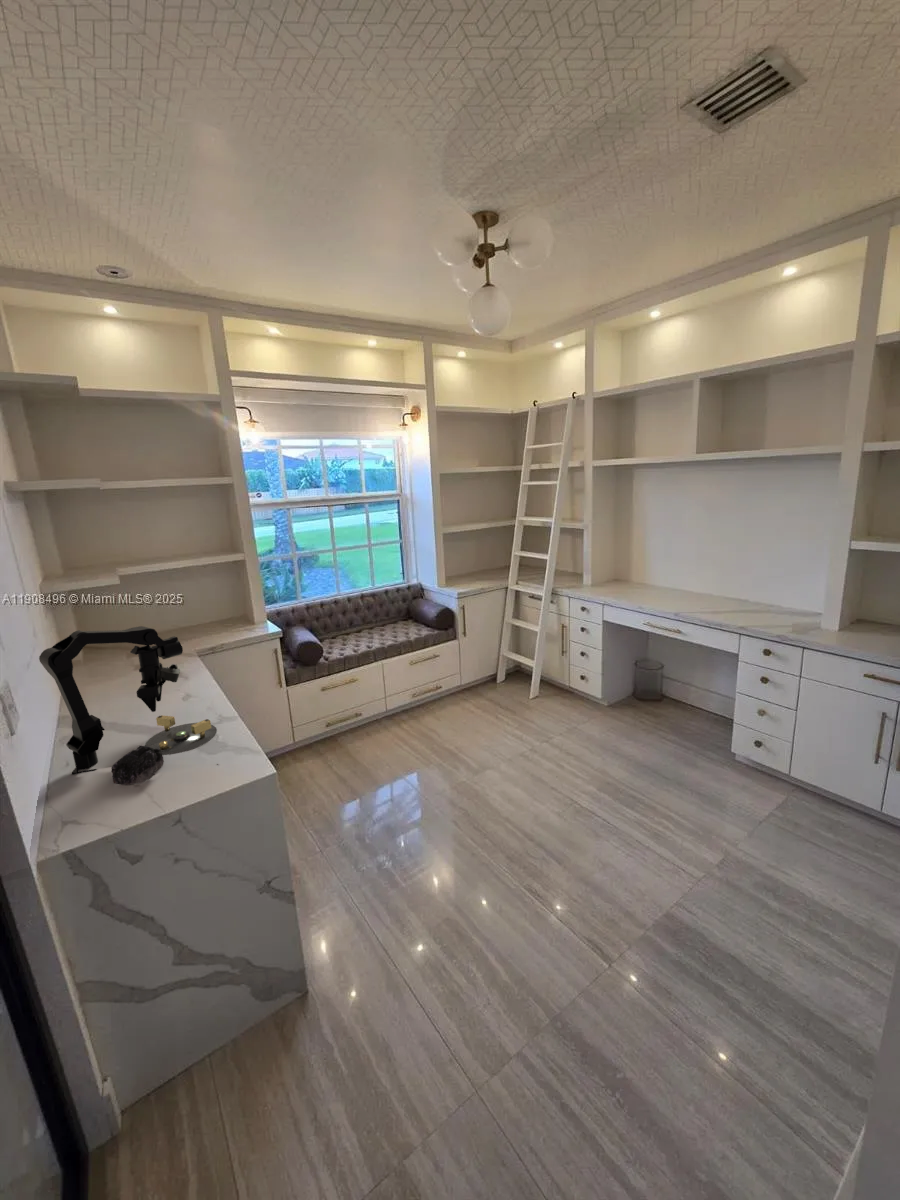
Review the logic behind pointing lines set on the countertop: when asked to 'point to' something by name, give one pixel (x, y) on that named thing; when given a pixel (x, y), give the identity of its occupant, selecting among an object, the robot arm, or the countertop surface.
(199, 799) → the countertop surface
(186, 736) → the levelling plate
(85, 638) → the robot arm
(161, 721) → the knob far
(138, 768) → the crystal cluster
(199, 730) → the knob near
